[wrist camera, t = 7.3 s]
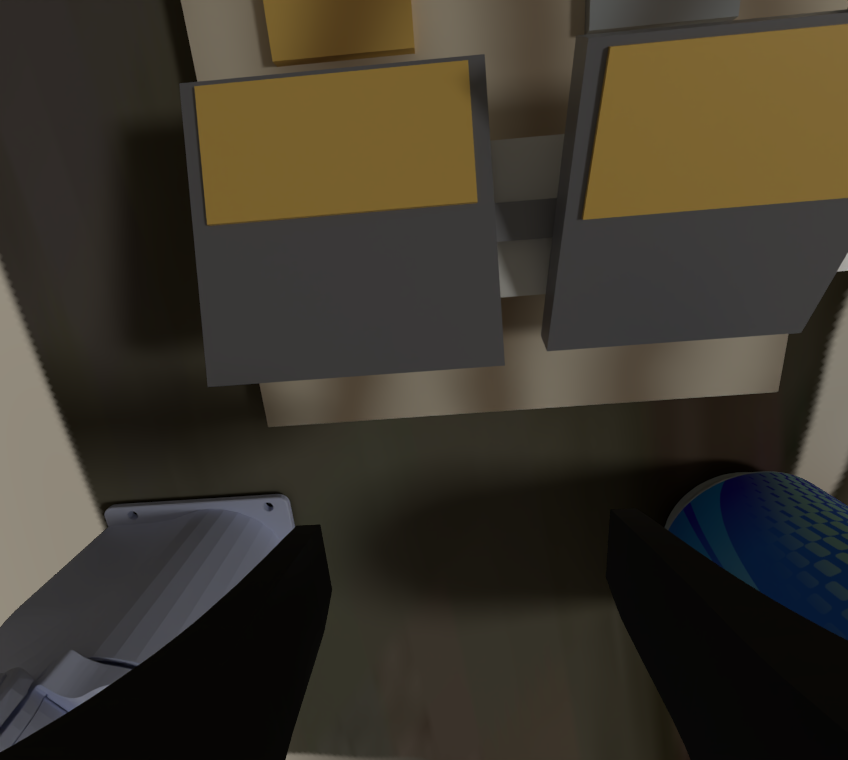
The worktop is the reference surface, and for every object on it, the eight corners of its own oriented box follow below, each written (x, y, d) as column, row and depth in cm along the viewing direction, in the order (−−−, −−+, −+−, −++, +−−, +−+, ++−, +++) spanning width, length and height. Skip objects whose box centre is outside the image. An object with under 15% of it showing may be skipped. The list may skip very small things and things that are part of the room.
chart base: (275, 418, 21) (264, 431, 20) (183, -46, 16) (158, -74, 14) (761, 384, 20) (786, 395, 19) (845, -116, 15) (889, -154, 13)
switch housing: (263, 304, 19) (220, 321, 15) (240, 181, 18) (185, 164, 14) (770, 264, 19) (865, 271, 15) (791, 132, 17) (904, 100, 13)
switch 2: (540, 335, 17) (547, 353, 16) (576, 35, 11) (590, 38, 10) (782, 317, 16) (803, 334, 15) (953, -2, 10) (1001, -3, 10)
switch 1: (224, 385, 14) (205, 387, 13) (197, 103, 14) (177, 80, 13) (500, 365, 14) (505, 365, 13) (481, 76, 14) (484, 51, 12)
